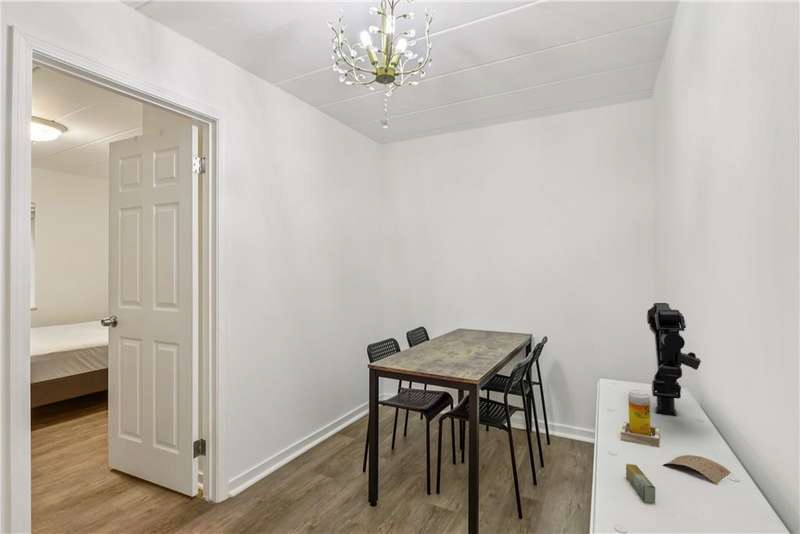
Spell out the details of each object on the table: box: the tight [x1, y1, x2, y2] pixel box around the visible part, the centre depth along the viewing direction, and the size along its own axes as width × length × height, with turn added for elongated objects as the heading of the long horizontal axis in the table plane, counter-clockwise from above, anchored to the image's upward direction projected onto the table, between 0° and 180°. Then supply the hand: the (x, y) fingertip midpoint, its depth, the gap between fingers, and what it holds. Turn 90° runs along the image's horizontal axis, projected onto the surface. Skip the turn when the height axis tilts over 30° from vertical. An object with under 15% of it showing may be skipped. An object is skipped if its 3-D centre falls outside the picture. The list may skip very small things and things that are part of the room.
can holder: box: [620, 421, 660, 447], centre depth 130 cm, size 10×10×2 cm
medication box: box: [625, 463, 657, 504], centre depth 100 cm, size 12×3×4 cm, turn 169°
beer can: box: [627, 389, 652, 437], centre depth 130 cm, size 6×6×15 cm
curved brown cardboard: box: [666, 454, 732, 486], centre depth 109 cm, size 14×10×3 cm
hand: (671, 390), depth 138 cm, fingers open, 9 cm apart
